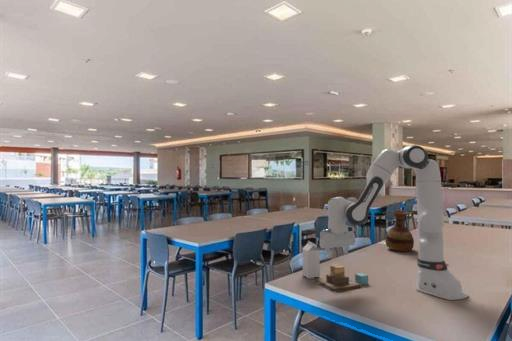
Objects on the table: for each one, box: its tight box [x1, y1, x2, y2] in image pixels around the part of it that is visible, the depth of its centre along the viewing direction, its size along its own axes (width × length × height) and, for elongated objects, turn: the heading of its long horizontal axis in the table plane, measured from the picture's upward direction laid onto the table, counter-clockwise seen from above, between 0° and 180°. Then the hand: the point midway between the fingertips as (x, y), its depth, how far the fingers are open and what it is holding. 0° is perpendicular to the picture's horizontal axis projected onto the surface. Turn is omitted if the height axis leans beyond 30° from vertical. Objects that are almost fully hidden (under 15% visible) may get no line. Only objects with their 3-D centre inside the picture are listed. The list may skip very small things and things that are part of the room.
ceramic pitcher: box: [385, 210, 415, 252], centre depth 242 cm, size 20×20×30 cm
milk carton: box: [302, 240, 321, 279], centre depth 176 cm, size 7×7×19 cm
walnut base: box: [315, 273, 362, 292], centre depth 162 cm, size 16×16×4 cm
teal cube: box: [354, 272, 369, 286], centre depth 164 cm, size 4×4×4 cm
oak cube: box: [329, 263, 346, 278], centre depth 162 cm, size 5×5×5 cm
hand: (338, 255), depth 162 cm, fingers open, 8 cm apart
